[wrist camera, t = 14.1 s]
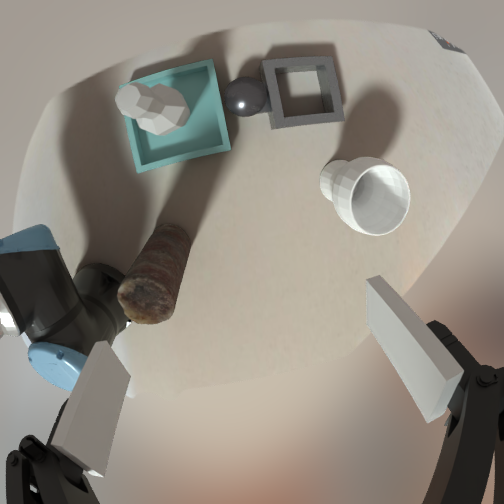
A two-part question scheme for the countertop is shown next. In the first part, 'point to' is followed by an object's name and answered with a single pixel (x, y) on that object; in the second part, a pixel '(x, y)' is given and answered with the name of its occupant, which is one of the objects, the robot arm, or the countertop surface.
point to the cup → (367, 194)
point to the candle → (155, 277)
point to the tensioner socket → (268, 98)
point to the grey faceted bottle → (153, 107)
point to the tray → (197, 127)
